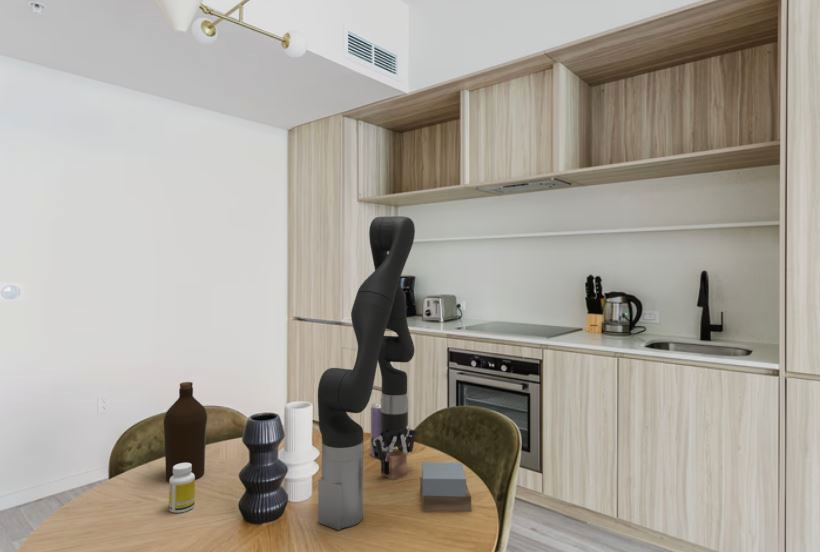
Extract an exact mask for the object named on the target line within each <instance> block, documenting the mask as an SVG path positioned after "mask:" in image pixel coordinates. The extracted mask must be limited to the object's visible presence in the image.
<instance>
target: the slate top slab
mask: <svg viewBox="0 0 820 552" xmlns="http://www.w3.org/2000/svg"><path fill="white" fill-rule="evenodd" d="M421 463H422V464H421V477H422V488H423V496H461V497H466V484H467V477H466V473H465V469H464V466H463V463H462V462H449V461H448V462H443V461H442V462H438V461H437V462H436V461H435V462H433V461H432V462H431V461H427V462H426V461H423V462H421Z"/></svg>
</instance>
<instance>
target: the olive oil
mask: <svg viewBox="0 0 820 552" xmlns="http://www.w3.org/2000/svg"><path fill="white" fill-rule="evenodd" d="M193 385H194V384H193V382H191V381H183V382H180V383H179V388H178V389H179V391H178V393H179V395H178V399H176V401H174V403H173V404H172V405H170V406H169V408H168V409H167V410H166V412H165V414H164V418H163V435H164V437H163V438H164V452H165V453H164V457H165V479H166V481H167V482H169V480H170V478H171V476H173V475H174V474H173V466H175V465H177V464H180V463H191V464H192V471H191V472H192V473H193V474H194V475H195V481H196V480H198V479H200V478H202V476H204V475H205V464H206V463H205V461H206V446H207V445H206V444H207V431H208V430H207V429H208V427H207V426H208V413H207V410H206V409H205V406H204V405H203V404H201V402H199V401H198V400H197V399H196V398H195V397H194V387H193Z"/></svg>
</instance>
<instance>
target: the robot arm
mask: <svg viewBox="0 0 820 552" xmlns="http://www.w3.org/2000/svg"><path fill="white" fill-rule="evenodd" d="M415 233H416V227H415V223H414V221H413V219H411V218H410V217H408V216H401V215H399V216H396V215H394V216H393V215H392V216H377V217H374V218H373V219H372V221H371V223H370V225H369V233H368V236H369V244H370V245H369V246H370V250H371V257H372V261H373V268H374V271H373V272H372V273H371V274H370V275H369V276H368V277H366V279H365V280H364V281H363V282H362V284H361V285H360V286H359V288H358V290H357V292H356V295H355V299H354V301H353V304H352V308H351V310H350V311H351V313H350V316H351V317H350V318H351V324H352V328H353V331H354V335H355V338H356V343H357V353H356V359H355V363H354V366H353V368H352V369H349V368H342V367H341V368H340V367H331V368H330V367H329V368H328V369H326V370H325V371H324V372H323V373H322V375H321V376H320V379H319V382H318V385H317V386H318V388H317V409H318V410H317V414H318V429H319V432H320V435H321V478H319V479H318V481H317V482H318V488H317V489H318V495H317V496H318V497H317V523H319V524H321V525H324V526H327V527H329V528H331V529H334V530H337V531H340V530H342V529H346V528H350V527H353V526H355V525H358V524H359V523H360V522H361V521H362V520H363V517H364V428H363V427H362V426H361V425H360V424H359V423H358V422H356V421H355V420H354V419H352V418H351V416H349V414H360V413H362V412H363V411H364V410H365V409H366V407H368V404H369V402H370V399H371V396H372V393H373V388H374V384H375V379H376V372H377V366H379V371H380V375H381V376H380V377H381V394H380V395H381V397H380V403H381V428H382V431H381V434H380V436H379V437H377V438H374V437H373V438H372V439H371V438H370V442H371V441H372V446H373V451H374V456H375V457H374V458H375V459H377V460H379V461H380V472H381V471H382V473H383V474H385V475H388V474H389V461H388V460H389V456H390V454H391V453H392V451H393V449H395V448H396V449H398V450H401V451H402V452H405V453H407V455H408V454H409V453H413V450H414V445H415V440H416V439H415V438H416V433H417V431H416V430H415V429H413V428H412V429H411V428H408V426H409V396H408V374H407V372H406V371H404V370H401V369H397V368H395V367H394V366H393V365H392V362H393V363H409V362H410V361H412V360H413V358H414V355H415V345H414V341H413V339H412V335H411V333H410V329H409V325H408V319H407V318H408V317H407V299H406V295H405V292H404V289H403V287H402V285H401V284H400V279H401V276H402V273H403V270H404V269H405V265H406V264H407V261H408V258H409V256H410V252H411V250H412V247H413V244H414V241H415ZM386 330H389V331H392V332H395V334H396V335H385V333H386ZM348 413H349V414H348ZM382 441H383V444H382ZM381 445H382V447H381ZM387 447H389V448H387ZM385 454H386V455H385Z"/></svg>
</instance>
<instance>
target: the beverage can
mask: <svg viewBox="0 0 820 552" xmlns="http://www.w3.org/2000/svg"><path fill="white" fill-rule="evenodd" d="M381 431H382V428H381V402H376V403H372V404H371V407H370V454H371V456H372V457H373V458H375V456H374V451H373V446H372V441H371V439H372V438H373V437H374V438H377V437H379V436H380V434H381ZM382 444H383V441H382ZM381 447H382V445H381ZM387 448H389V447H387Z"/></svg>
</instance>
